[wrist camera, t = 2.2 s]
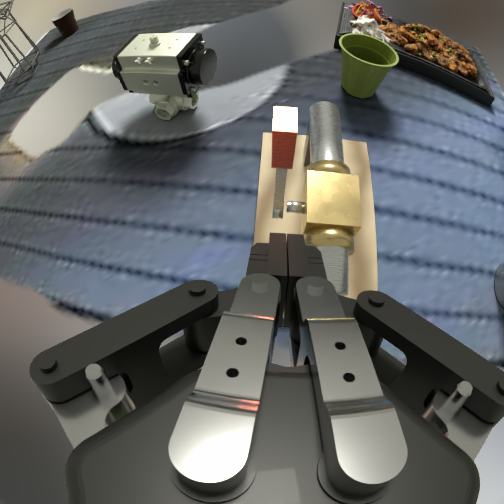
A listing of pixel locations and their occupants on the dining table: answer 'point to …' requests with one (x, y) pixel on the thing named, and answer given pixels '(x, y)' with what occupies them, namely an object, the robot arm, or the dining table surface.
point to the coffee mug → (66, 22)
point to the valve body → (328, 195)
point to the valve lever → (282, 152)
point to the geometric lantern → (17, 48)
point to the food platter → (419, 49)
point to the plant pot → (364, 63)
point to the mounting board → (365, 254)
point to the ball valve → (166, 69)
